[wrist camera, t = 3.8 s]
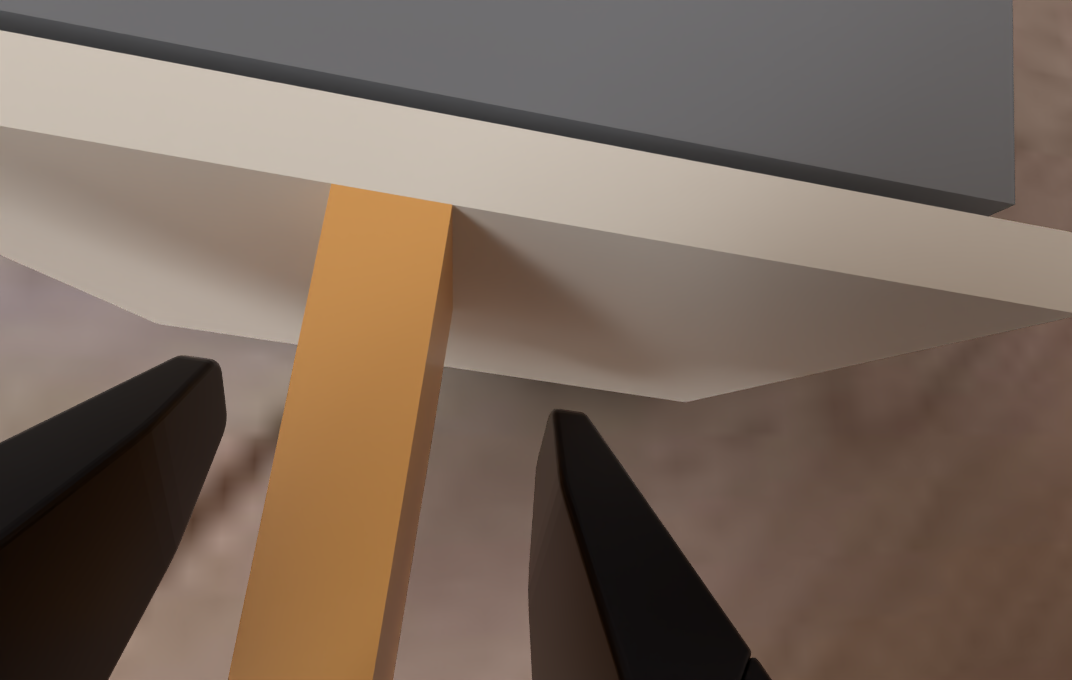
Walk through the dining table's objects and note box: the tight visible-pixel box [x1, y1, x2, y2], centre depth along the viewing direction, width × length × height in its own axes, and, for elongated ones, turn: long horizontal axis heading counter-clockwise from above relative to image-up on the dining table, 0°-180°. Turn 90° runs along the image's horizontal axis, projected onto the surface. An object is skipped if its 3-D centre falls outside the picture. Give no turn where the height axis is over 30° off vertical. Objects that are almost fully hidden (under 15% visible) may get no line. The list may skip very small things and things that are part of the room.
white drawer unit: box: [0, 30, 1072, 680], centre depth 11 cm, size 16×13×10 cm
